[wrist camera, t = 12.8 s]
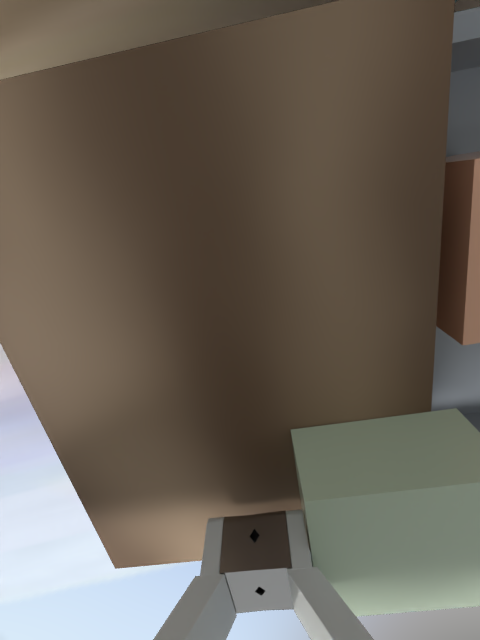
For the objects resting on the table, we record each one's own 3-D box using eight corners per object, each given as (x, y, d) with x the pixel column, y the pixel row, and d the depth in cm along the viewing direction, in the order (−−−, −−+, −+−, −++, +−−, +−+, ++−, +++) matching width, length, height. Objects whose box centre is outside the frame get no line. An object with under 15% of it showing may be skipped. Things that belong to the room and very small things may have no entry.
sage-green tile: (305, 535, 12) (320, 619, 10) (290, 429, 10) (304, 501, 8) (445, 521, 12) (495, 605, 9) (456, 408, 10) (522, 477, 7)
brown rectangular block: (154, 454, 19) (115, 568, 13) (42, 142, 13) (-120, 107, 7) (367, 427, 18) (423, 539, 12) (355, 75, 12) (456, -28, 6)
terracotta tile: (462, 345, 9) (554, 330, 9) (475, 158, 8) (589, 134, 7) (391, 293, 14) (451, 282, 14) (388, 169, 12) (457, 154, 12)
